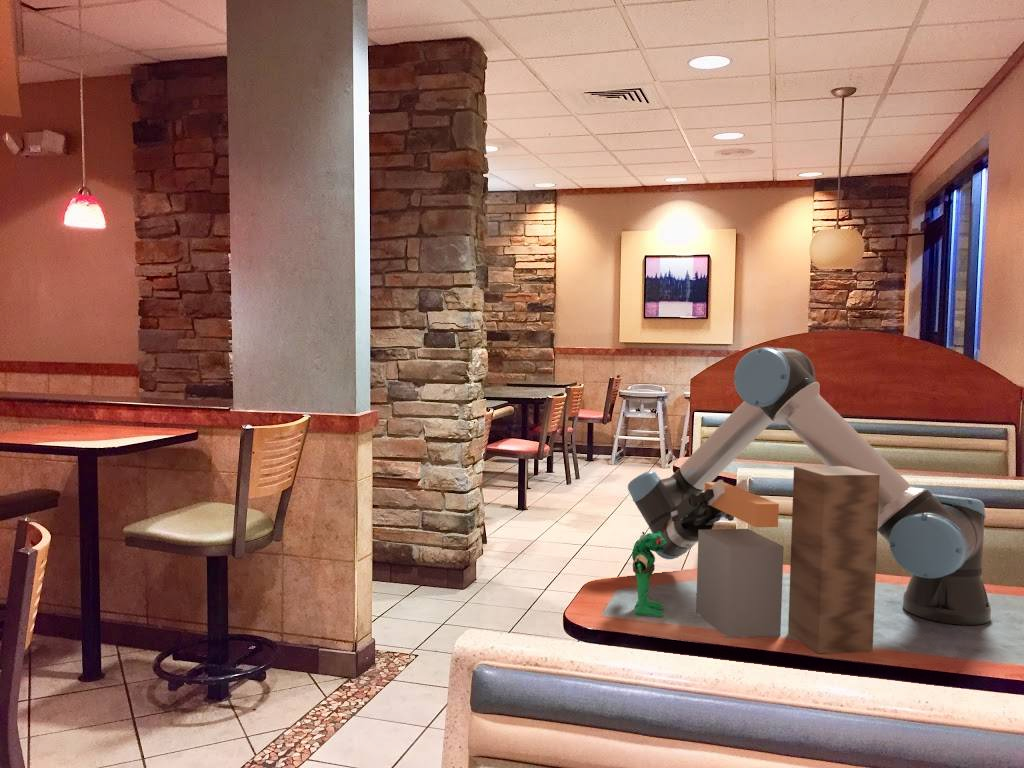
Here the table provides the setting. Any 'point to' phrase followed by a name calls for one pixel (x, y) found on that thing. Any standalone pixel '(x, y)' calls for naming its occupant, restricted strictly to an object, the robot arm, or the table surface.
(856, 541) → the post
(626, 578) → the table surface
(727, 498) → the orange rectangular bar
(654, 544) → the toy
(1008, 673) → the table surface
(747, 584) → the grey upright cuboid
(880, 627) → the table surface
